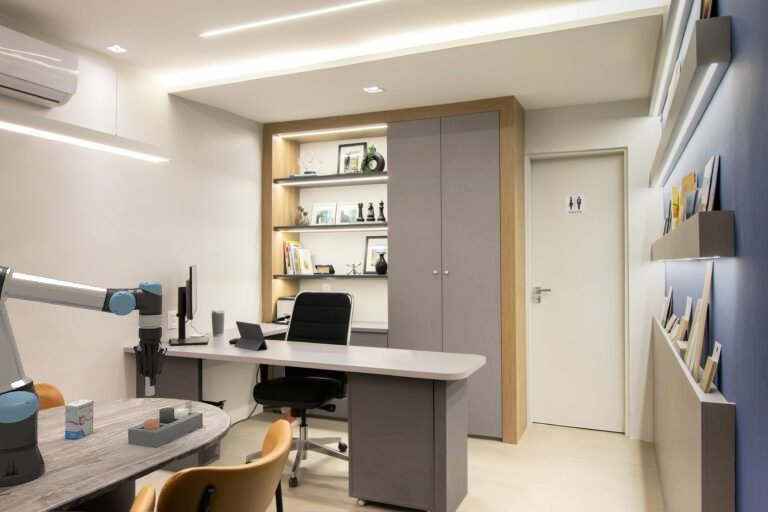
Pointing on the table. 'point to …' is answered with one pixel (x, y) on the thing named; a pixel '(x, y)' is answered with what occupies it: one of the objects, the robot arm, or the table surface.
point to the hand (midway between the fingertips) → (149, 395)
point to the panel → (164, 431)
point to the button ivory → (181, 412)
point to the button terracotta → (151, 424)
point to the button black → (166, 415)
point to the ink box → (79, 419)
